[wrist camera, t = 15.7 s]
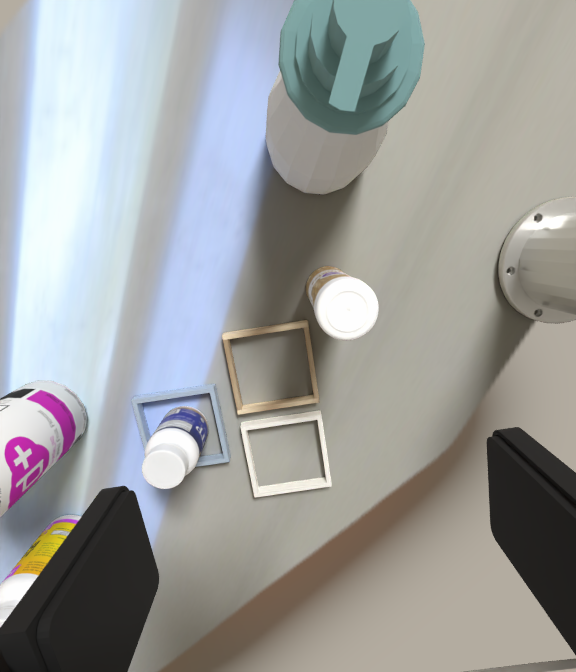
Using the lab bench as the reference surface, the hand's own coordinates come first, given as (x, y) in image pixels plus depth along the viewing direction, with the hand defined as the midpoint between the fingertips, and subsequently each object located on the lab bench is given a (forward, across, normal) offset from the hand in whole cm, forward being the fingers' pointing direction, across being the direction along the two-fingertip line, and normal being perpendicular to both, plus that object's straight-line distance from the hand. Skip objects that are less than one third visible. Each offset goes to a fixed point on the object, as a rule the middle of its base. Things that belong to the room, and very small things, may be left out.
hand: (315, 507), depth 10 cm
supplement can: (+32, +28, +8) cm, 43 cm away
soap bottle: (+32, -5, -15) cm, 36 cm away
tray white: (+32, +3, +17) cm, 36 cm away
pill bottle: (+32, +14, +12) cm, 37 cm away
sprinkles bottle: (+32, -4, -1) cm, 33 cm away
